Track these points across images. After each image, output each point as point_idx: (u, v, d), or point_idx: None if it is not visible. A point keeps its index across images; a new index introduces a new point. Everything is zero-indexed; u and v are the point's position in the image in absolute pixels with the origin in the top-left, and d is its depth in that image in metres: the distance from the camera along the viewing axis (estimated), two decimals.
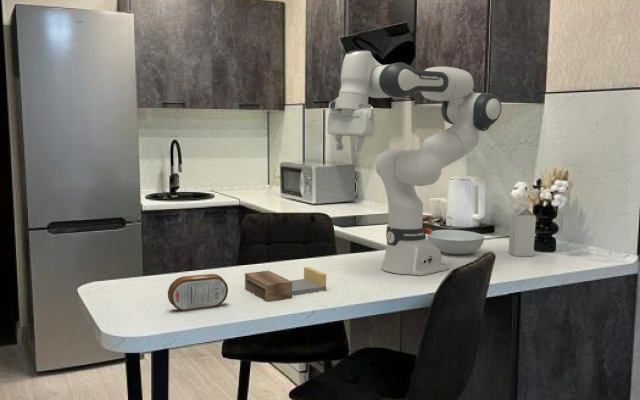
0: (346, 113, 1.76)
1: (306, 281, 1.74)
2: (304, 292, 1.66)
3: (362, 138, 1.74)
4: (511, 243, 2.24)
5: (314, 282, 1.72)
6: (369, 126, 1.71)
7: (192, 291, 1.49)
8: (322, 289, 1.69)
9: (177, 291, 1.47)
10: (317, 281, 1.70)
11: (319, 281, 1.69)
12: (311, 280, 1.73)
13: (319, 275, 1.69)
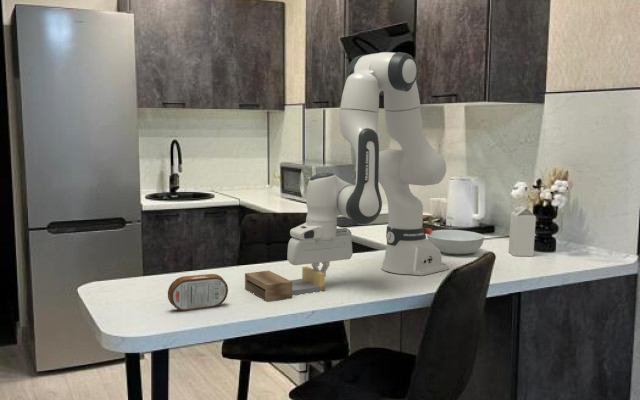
0: (330, 241, 1.71)
1: (304, 281, 1.74)
2: (302, 292, 1.65)
3: None
4: (511, 243, 2.24)
5: (312, 282, 1.71)
6: None
7: (192, 291, 1.49)
8: (320, 289, 1.68)
9: (177, 291, 1.47)
10: (315, 281, 1.70)
11: (317, 281, 1.69)
12: (310, 279, 1.73)
13: (317, 274, 1.69)
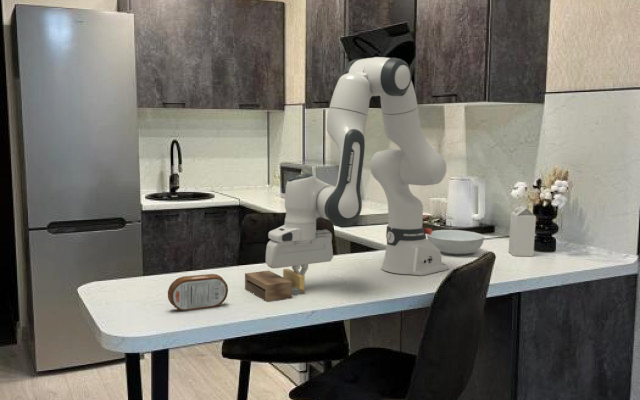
0: (309, 243, 1.67)
1: None
2: None
3: None
4: (511, 243, 2.24)
5: (293, 284, 1.68)
6: None
7: (192, 291, 1.49)
8: (300, 291, 1.65)
9: (177, 291, 1.47)
10: (295, 283, 1.67)
11: (297, 283, 1.66)
12: None
13: (297, 277, 1.66)
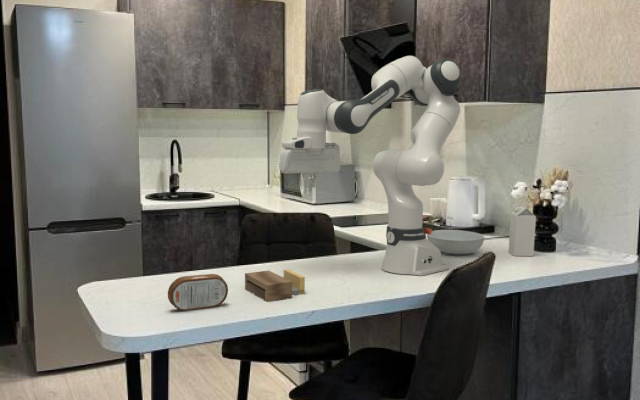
0: (319, 152, 1.83)
1: None
2: None
3: None
4: (511, 243, 2.24)
5: (293, 285, 1.68)
6: None
7: (192, 291, 1.49)
8: (300, 292, 1.65)
9: (177, 291, 1.47)
10: (295, 284, 1.67)
11: (297, 284, 1.66)
12: None
13: (297, 277, 1.66)
